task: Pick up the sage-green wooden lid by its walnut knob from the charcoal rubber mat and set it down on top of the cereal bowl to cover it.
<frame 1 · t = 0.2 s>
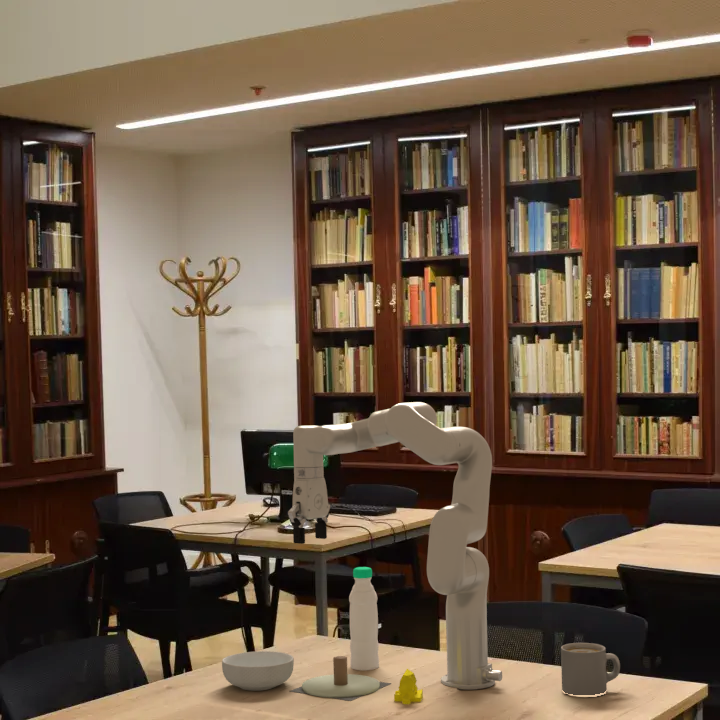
hand: (310, 540, 301), 31 cm above the table, tool pointing down, fingers open, 9 cm apart
water bottle: (364, 669, 292), on the table
lid: (340, 687, 273), point 1 cm above the table, touching mat
mat: (340, 689, 273), on the table
cereal bowl: (258, 689, 277), on the table
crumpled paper: (408, 703, 262), on the table
coffee mug: (592, 692, 266), on the table
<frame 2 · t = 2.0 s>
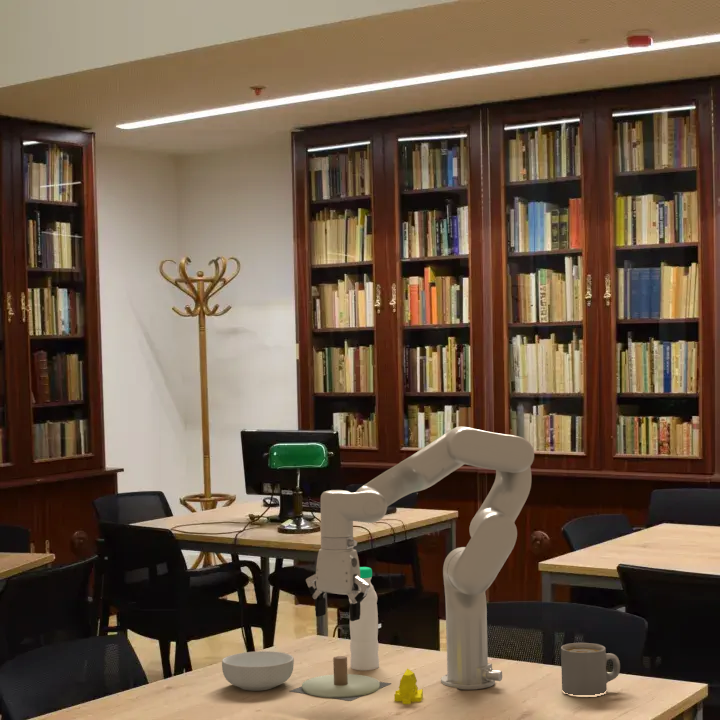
hand: (337, 617, 273), 17 cm above the table, tool pointing down, fingers open, 9 cm apart
nothing on the table moved.
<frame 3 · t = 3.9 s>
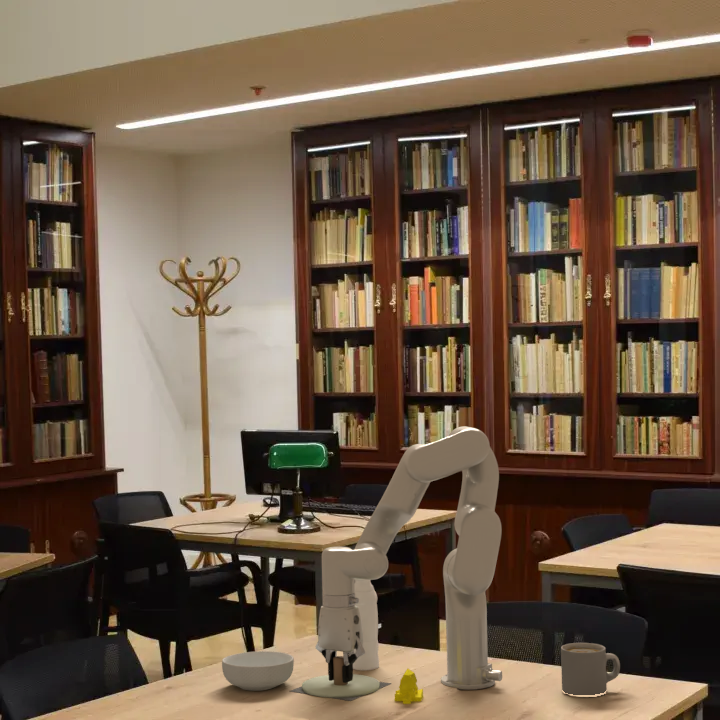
hand: (340, 679, 273), 2 cm above the table, tool pointing down, fingers closed on lid, 3 cm apart
lid: (340, 687, 273), point 1 cm above the table, touching gripper, mat
everything else where it was.
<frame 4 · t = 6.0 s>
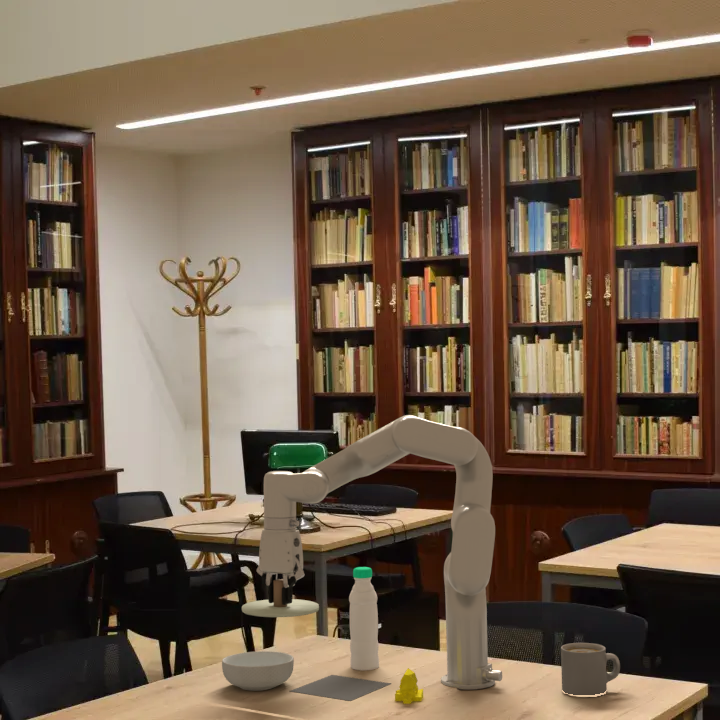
hand: (280, 602, 276), 20 cm above the table, tool pointing down, fingers closed on lid, 3 cm apart
lid: (280, 609, 276), point 18 cm above the table, touching gripper
everything else where it was.
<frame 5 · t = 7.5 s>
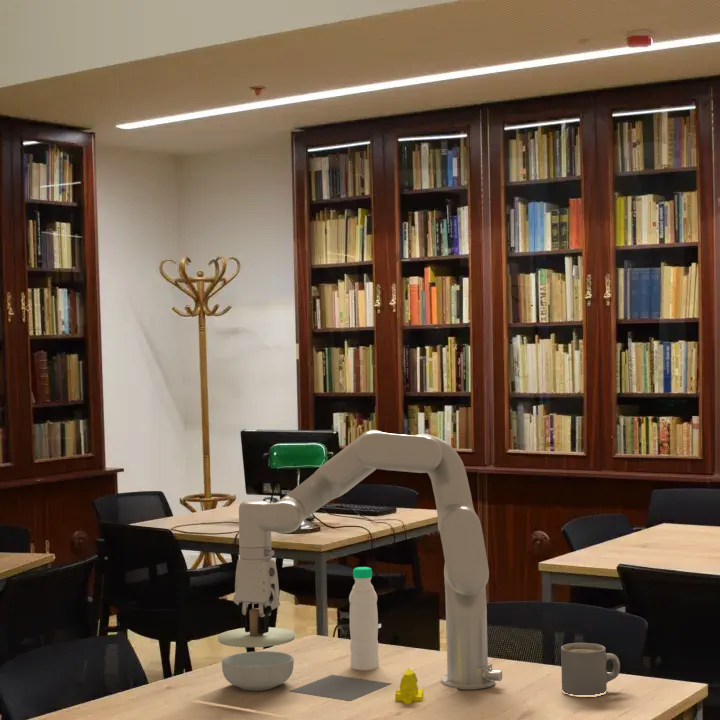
hand: (256, 631, 277), 13 cm above the table, tool pointing down, fingers closed on lid, 3 cm apart
lid: (256, 638, 277), point 12 cm above the table, touching gripper
everything else where it was.
when the fingers open (10 cm above the table, at t = 8.3 s): lid drops 1 cm, resting on cereal bowl.
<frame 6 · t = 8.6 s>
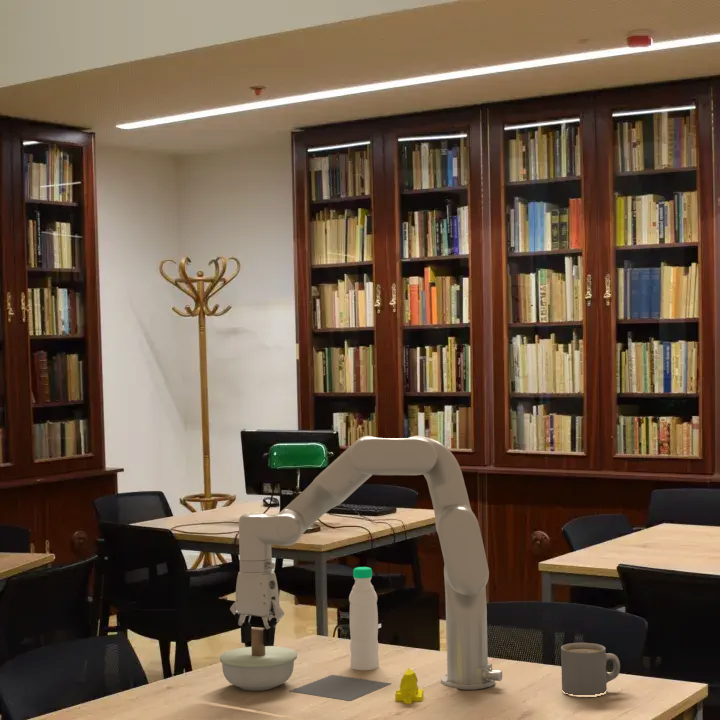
hand: (257, 642, 277), 11 cm above the table, tool pointing down, fingers open, 6 cm apart
lid: (258, 658, 277), point 7 cm above the table, touching cereal bowl
cereal bowl: (258, 689, 277), on the table, touching lid
everything else where it was.
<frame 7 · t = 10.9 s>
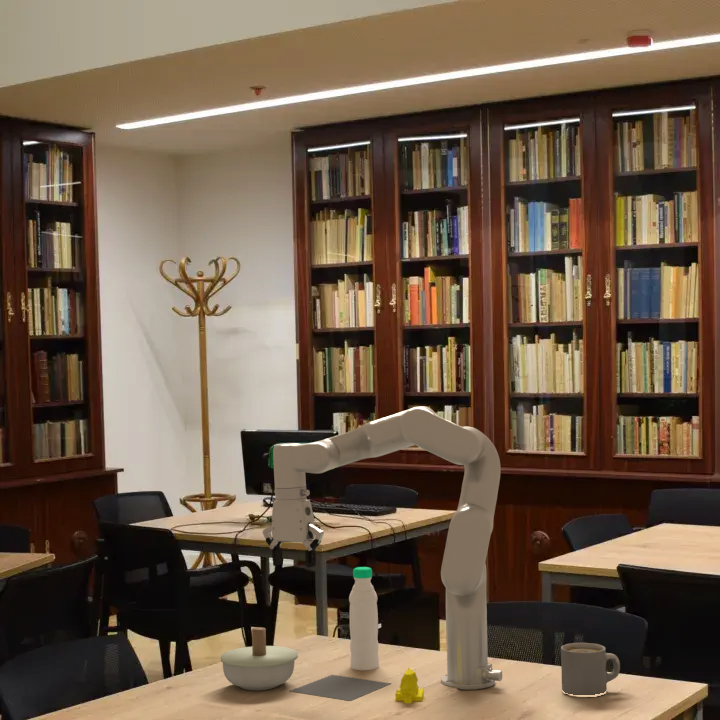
hand: (294, 565, 284), 27 cm above the table, tool pointing down, fingers open, 9 cm apart
nothing on the table moved.
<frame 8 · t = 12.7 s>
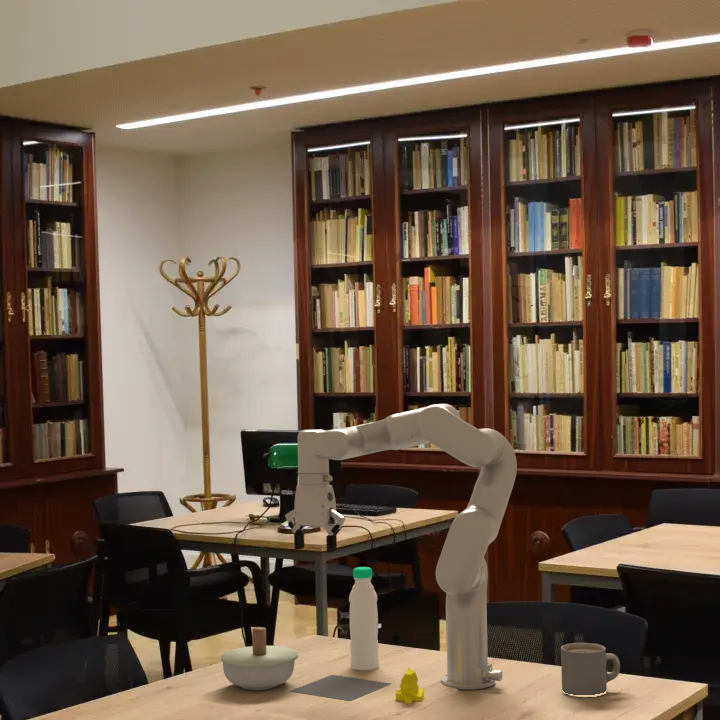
hand: (315, 550, 288), 30 cm above the table, tool pointing down, fingers open, 9 cm apart
nothing on the table moved.
at the end: lid 0.2 cm from the cereal bowl (horizontally); lid point 7.0 cm above the table; lid tilted 0° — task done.
